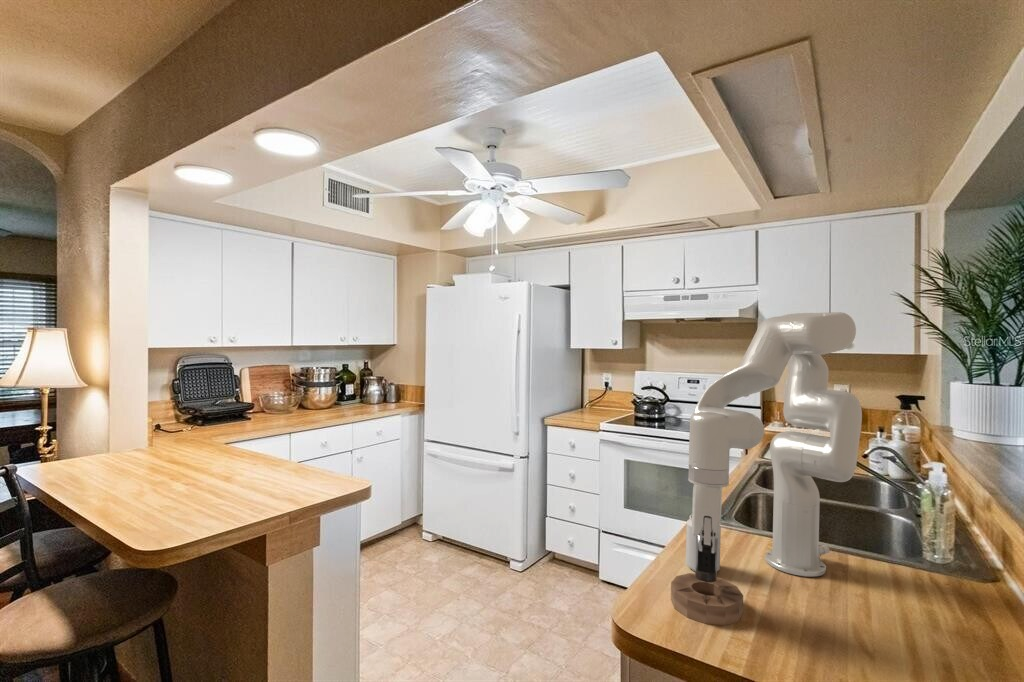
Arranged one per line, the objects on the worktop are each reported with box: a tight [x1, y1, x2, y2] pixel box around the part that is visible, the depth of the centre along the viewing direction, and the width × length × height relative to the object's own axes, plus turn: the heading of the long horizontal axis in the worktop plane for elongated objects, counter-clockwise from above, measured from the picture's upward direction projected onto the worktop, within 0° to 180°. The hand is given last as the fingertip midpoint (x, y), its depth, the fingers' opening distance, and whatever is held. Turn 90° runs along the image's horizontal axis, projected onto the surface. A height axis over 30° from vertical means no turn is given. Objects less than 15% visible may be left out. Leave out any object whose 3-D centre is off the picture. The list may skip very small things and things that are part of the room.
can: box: [685, 513, 722, 572], centre depth 117 cm, size 8×8×12 cm
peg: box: [694, 532, 718, 582], centre depth 100 cm, size 4×4×9 cm
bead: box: [670, 572, 744, 626], centre depth 100 cm, size 13×13×4 cm
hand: (706, 565), depth 100 cm, fingers closed on peg, 4 cm apart
